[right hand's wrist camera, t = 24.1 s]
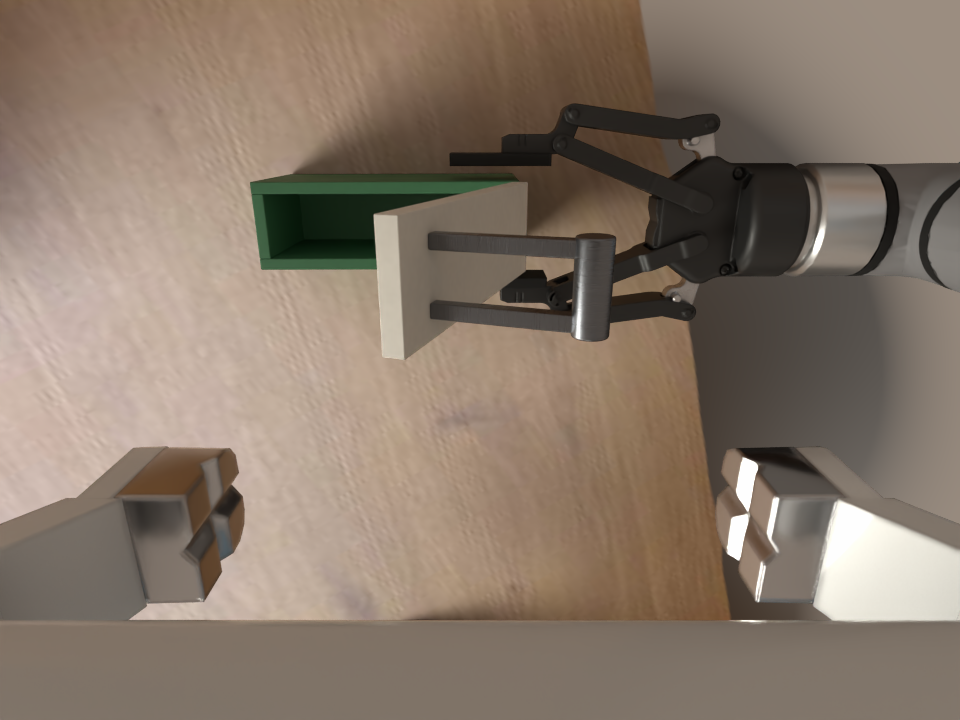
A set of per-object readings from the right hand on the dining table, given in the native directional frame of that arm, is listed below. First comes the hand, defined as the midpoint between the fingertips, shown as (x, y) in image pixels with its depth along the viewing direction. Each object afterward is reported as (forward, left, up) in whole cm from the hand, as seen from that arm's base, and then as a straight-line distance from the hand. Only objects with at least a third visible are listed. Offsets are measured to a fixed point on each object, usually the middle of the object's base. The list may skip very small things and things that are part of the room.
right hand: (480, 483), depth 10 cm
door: (-1, -1, -22) cm, 22 cm away
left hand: (-1, -1, -33) cm, 33 cm away
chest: (-4, -4, -40) cm, 40 cm away
